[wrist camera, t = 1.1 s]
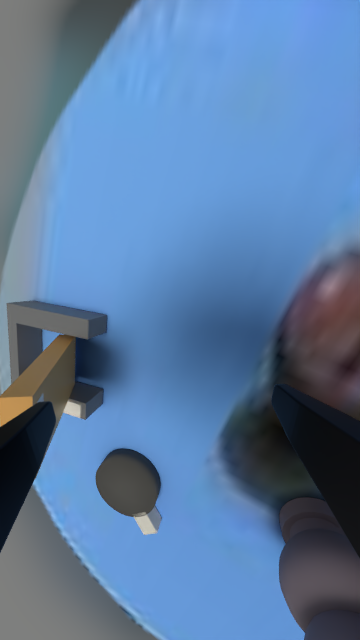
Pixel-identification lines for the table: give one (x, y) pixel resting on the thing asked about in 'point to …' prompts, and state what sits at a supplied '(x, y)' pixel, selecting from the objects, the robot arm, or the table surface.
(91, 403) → the breaker housing
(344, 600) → the cat figurine
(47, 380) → the block
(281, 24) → the table surface
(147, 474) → the ping pong paddle
